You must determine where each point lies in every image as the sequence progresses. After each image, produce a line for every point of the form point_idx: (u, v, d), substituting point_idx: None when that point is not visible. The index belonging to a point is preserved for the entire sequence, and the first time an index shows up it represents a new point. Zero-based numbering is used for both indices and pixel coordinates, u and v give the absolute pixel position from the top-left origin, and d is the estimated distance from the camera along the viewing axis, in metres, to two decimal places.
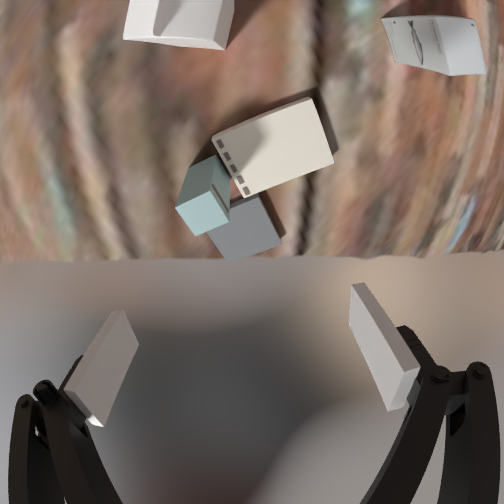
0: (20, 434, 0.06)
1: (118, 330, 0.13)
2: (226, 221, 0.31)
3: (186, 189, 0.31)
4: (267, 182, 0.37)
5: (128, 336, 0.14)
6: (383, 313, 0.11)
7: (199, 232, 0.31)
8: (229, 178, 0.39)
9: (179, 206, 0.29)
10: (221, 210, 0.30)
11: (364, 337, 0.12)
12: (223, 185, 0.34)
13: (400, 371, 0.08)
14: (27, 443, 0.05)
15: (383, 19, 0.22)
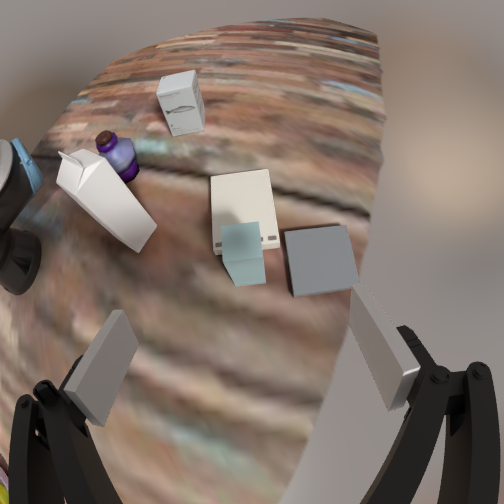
0: (20, 434, 0.06)
1: (118, 330, 0.13)
2: (257, 223, 0.32)
3: None
4: (270, 219, 0.42)
5: (128, 336, 0.14)
6: (383, 313, 0.11)
7: (259, 251, 0.30)
8: None
9: (223, 257, 0.30)
10: (244, 223, 0.32)
11: (364, 337, 0.12)
12: None
13: (400, 371, 0.08)
14: (27, 443, 0.05)
15: (172, 134, 0.53)
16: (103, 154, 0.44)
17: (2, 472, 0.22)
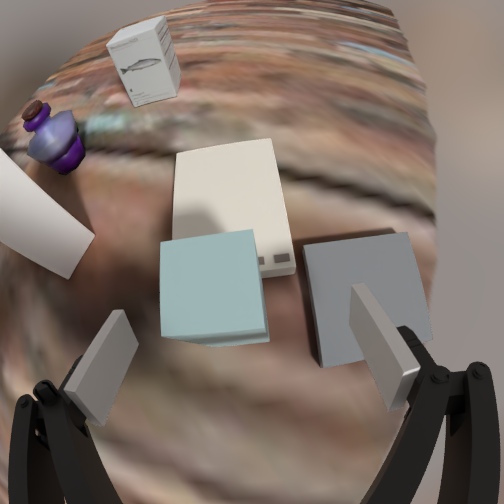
0: (20, 434, 0.06)
1: (118, 330, 0.13)
2: (249, 234, 0.12)
3: None
4: (276, 221, 0.23)
5: (128, 336, 0.14)
6: (383, 313, 0.11)
7: (255, 310, 0.11)
8: None
9: (163, 323, 0.11)
10: (216, 236, 0.13)
11: (364, 337, 0.12)
12: None
13: (400, 371, 0.08)
14: (27, 443, 0.05)
15: (133, 104, 0.34)
16: (35, 135, 0.25)
17: None
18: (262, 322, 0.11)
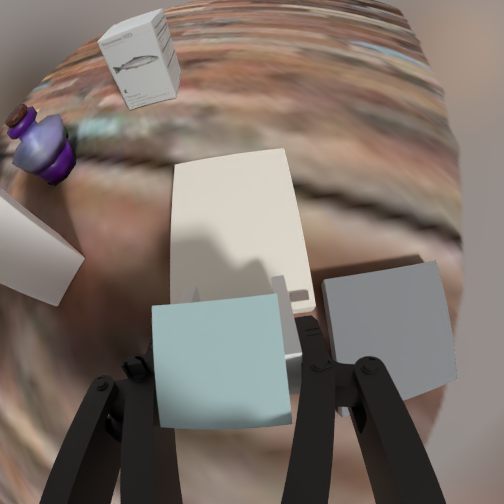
0: (86, 420, 0.07)
1: None
2: (272, 301, 0.09)
3: None
4: (293, 251, 0.19)
5: None
6: (287, 302, 0.13)
7: (280, 404, 0.08)
8: None
9: (161, 412, 0.08)
10: (226, 301, 0.09)
11: None
12: None
13: None
14: (92, 433, 0.07)
15: (128, 106, 0.30)
16: (21, 142, 0.22)
17: None
18: (289, 417, 0.07)
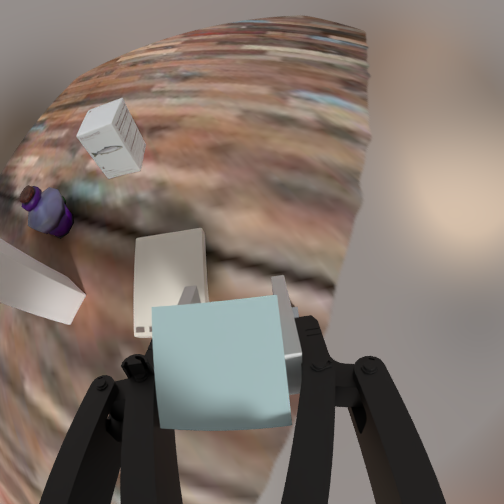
0: (86, 420, 0.07)
1: None
2: (272, 302, 0.09)
3: None
4: None
5: None
6: (287, 302, 0.13)
7: (280, 405, 0.08)
8: None
9: (161, 413, 0.08)
10: (226, 303, 0.09)
11: None
12: None
13: None
14: (92, 433, 0.07)
15: (107, 176, 0.44)
16: (32, 209, 0.35)
17: None
18: (289, 419, 0.07)
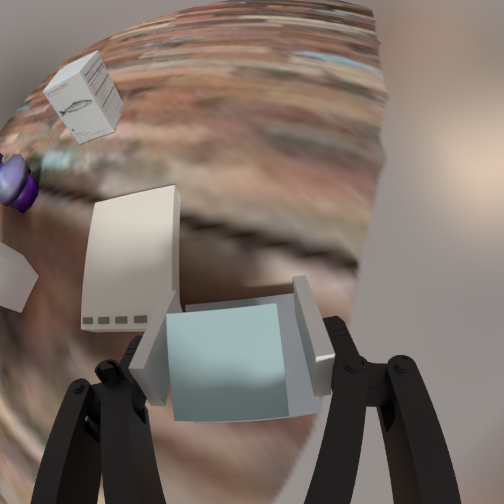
0: (66, 422, 0.07)
1: (173, 309, 0.15)
2: (272, 310, 0.10)
3: None
4: (161, 280, 0.22)
5: None
6: (313, 303, 0.13)
7: (279, 398, 0.09)
8: None
9: (175, 407, 0.09)
10: (232, 310, 0.10)
11: (300, 326, 0.14)
12: None
13: (314, 356, 0.10)
14: (72, 434, 0.06)
15: (78, 141, 0.33)
16: None
17: None
18: (287, 410, 0.09)
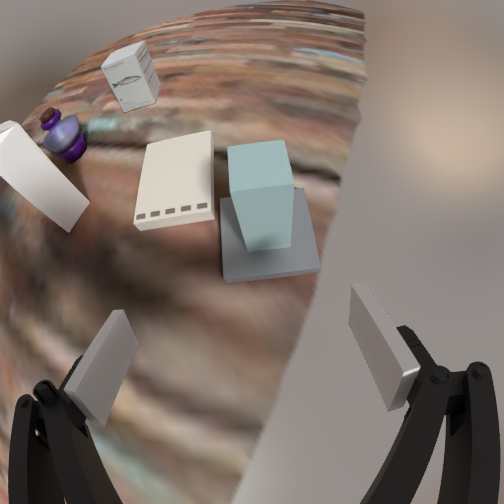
0: (20, 434, 0.06)
1: (118, 330, 0.13)
2: (282, 142, 0.20)
3: None
4: (203, 184, 0.32)
5: (128, 336, 0.14)
6: (383, 313, 0.11)
7: (288, 175, 0.19)
8: None
9: (231, 184, 0.19)
10: (262, 143, 0.20)
11: (364, 337, 0.12)
12: None
13: (400, 371, 0.08)
14: (27, 443, 0.05)
15: (123, 109, 0.44)
16: (49, 133, 0.35)
17: None
18: (292, 181, 0.18)
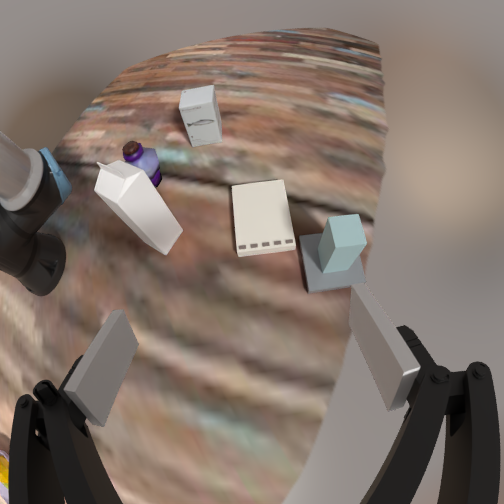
0: (20, 434, 0.06)
1: (118, 329, 0.13)
2: (357, 215, 0.35)
3: (329, 250, 0.37)
4: (286, 224, 0.47)
5: (128, 336, 0.14)
6: (383, 313, 0.11)
7: (363, 238, 0.34)
8: None
9: (335, 243, 0.34)
10: (347, 215, 0.35)
11: (364, 337, 0.12)
12: None
13: (400, 371, 0.08)
14: (27, 443, 0.05)
15: (192, 145, 0.58)
16: (129, 163, 0.50)
17: None
18: (366, 242, 0.34)
